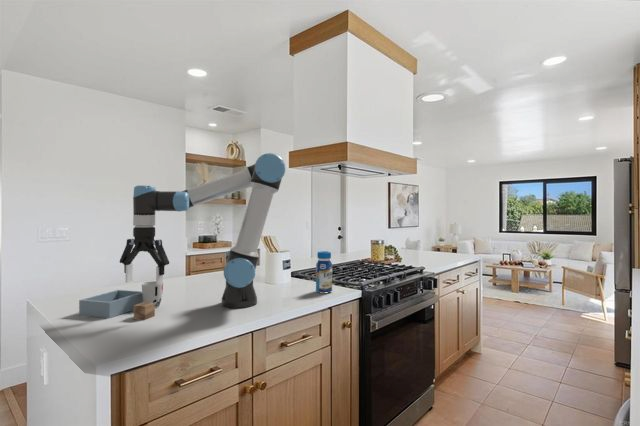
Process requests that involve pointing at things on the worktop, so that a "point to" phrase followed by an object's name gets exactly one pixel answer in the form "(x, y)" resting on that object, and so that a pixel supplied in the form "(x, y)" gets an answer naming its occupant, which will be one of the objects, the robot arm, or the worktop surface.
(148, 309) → the walnut cube
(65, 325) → the worktop surface
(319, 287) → the beverage bottle
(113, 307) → the tote
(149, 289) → the cup
